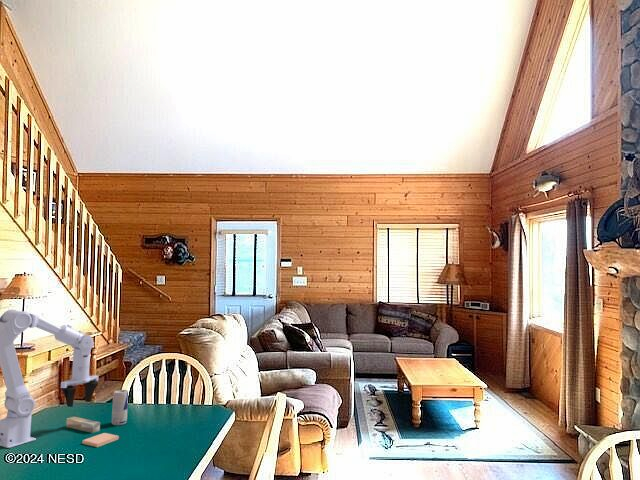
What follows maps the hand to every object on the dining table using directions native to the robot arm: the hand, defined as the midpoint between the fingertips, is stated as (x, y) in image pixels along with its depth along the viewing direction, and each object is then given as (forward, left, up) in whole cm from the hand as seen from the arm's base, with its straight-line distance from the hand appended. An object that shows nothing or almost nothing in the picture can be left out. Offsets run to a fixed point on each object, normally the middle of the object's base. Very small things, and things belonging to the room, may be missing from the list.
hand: (78, 404), depth 183 cm
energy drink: (+11, -9, -9) cm, 17 cm away
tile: (-6, -16, -8) cm, 19 cm away
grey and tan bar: (0, -3, -8) cm, 9 cm away
